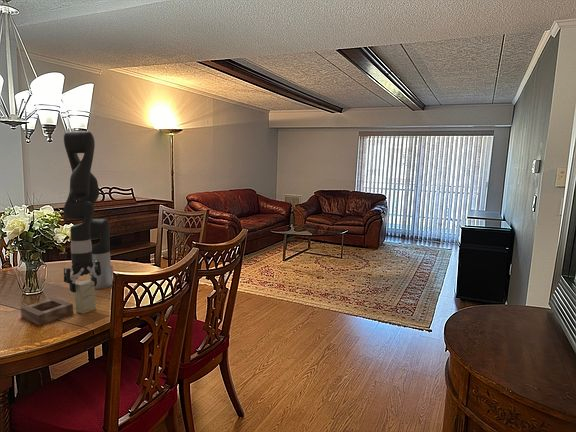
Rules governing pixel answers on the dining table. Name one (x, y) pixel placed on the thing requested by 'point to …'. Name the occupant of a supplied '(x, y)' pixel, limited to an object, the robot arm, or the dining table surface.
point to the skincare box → (85, 296)
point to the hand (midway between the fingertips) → (83, 289)
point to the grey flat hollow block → (46, 311)
